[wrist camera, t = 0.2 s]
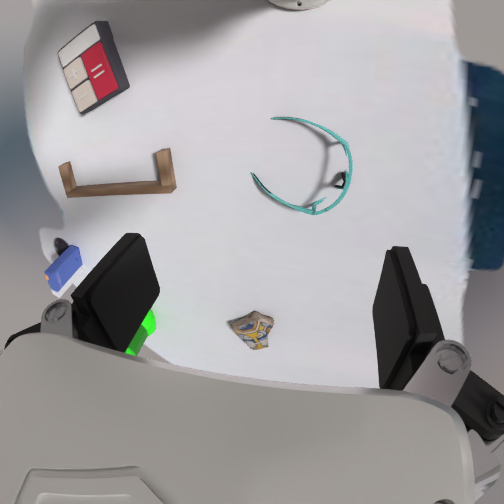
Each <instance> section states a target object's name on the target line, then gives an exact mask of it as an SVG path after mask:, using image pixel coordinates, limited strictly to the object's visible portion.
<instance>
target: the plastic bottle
mask: <svg viewBox="0 0 504 504" xmlns="http://www.w3.org/2000/svg"><path fill="white" fill-rule="evenodd" d="M155 329H156V321H155V316H154V314H153V312H152V311H151V309H150V311H149V312H148V314H147V316H146V317H145V319H144V321H143V322H142V324H141V326H140V327H139V329H138V331H137V333H136V334H135V336H134V338H133V340H132V341H131V343H130V345H129V347H128V348H127V350H126V352H125V353H127V354H131V355H134V356H137V354H138V353H139V351H140V349H141V347H142V345H143V343H144V342H145V340H146V338H147V337H148V336H149V335H150V334H152V333H153V332H154V331H155Z"/></svg>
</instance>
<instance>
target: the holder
mask: <svg viewBox="0 0 504 504" xmlns="http://www.w3.org/2000/svg"><path fill="white" fill-rule="evenodd" d="M156 157H157V162H158V168H159V173H160V179H161V181H143V182H126V183H111V184H99V185H88V186H76V182H75V179H74V175H73V171H72V168H71V164H70V162H66V163H64V164H62V165H60V166H59V171H60V175H61V178H62V182H63V185H64V189H65V192H66V195H67V198H73V197H88V196H106V195H128V194H163V193H172V192H173V191H174V190H175V189H176V188H177V187H176V181H175V175H174V169H173V163H172V157H171V151H170V148H167V149H162V150H160V151H158V152H157V153H156Z"/></svg>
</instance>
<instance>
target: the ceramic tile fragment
mask: <svg viewBox="0 0 504 504" xmlns="http://www.w3.org/2000/svg"><path fill="white" fill-rule="evenodd" d="M273 322H274V320H273V318H271V317H267V316H265V315H262V314H260V313H259V312H256V311H254V312H252V313H251V314H248V315H247V316H246V317H244V318H242V319H239V320H238V321H235V322H233V323H232V325H231V326H232V328H233V329H234V331H235V332H236V334H237V335H238V336H239V337H240V338H241V339H242V340H243V341H244V342H245V343H246V344H247V345H248V346H249V347H250V348H251V349H253V350H257V349H262V348H266V347H268V346H269V345H268V339H267V337H268V333H269V332H270V330H271V329H272V327H273V324H274V323H273Z"/></svg>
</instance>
